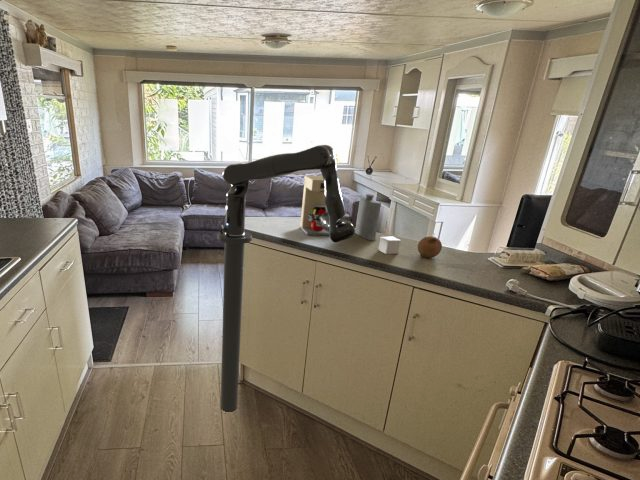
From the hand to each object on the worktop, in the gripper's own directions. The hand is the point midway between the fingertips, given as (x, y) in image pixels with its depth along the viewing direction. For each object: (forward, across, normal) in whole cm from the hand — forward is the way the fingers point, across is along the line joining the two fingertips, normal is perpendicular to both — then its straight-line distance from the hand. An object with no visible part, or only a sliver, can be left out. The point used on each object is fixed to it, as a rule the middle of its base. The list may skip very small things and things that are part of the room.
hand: (319, 214), depth 208 cm
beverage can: (+1, 0, +8) cm, 8 cm away
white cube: (-31, -23, +9) cm, 39 cm away
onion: (-38, -38, +9) cm, 54 cm away
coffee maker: (+3, 0, +9) cm, 9 cm away
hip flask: (-6, -22, +9) cm, 24 cm away
